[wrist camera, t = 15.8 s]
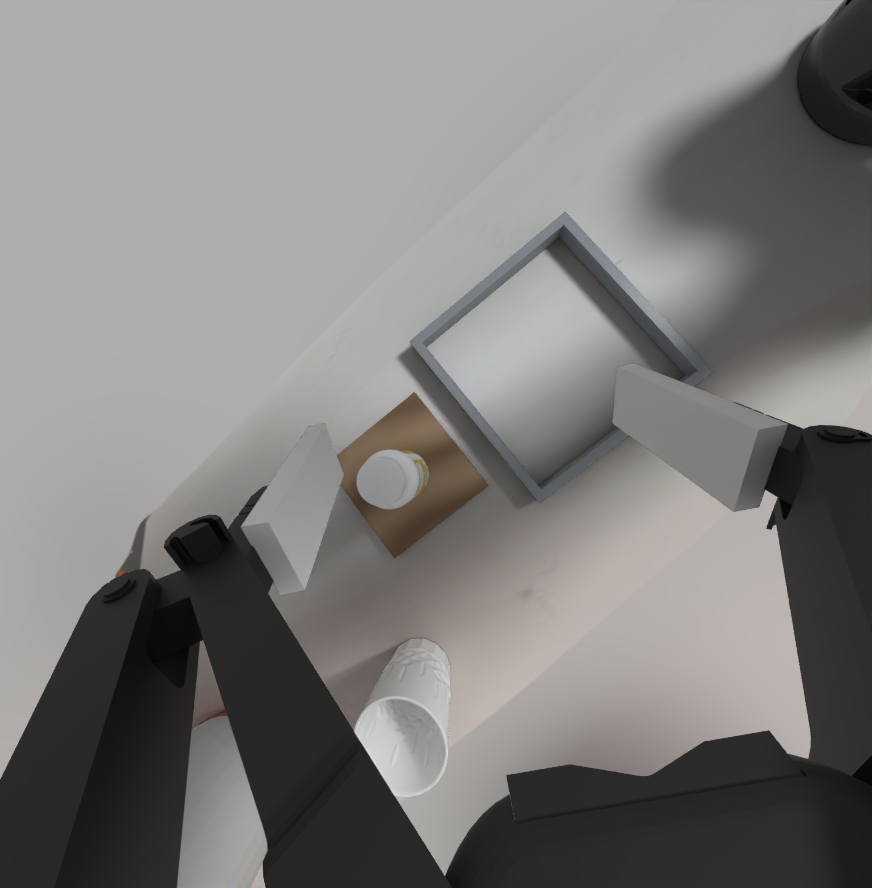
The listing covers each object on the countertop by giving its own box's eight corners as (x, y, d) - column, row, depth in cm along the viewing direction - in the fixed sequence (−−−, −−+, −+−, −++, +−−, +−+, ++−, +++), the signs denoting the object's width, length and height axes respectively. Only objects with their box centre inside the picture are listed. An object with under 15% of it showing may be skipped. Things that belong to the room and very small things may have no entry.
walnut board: (488, 484, 36) (488, 485, 35) (397, 555, 37) (394, 558, 36) (416, 394, 38) (414, 392, 37) (330, 464, 39) (325, 464, 38)
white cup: (409, 617, 37) (384, 677, 27) (469, 660, 36) (466, 737, 26) (372, 675, 37) (335, 755, 27) (431, 719, 36) (414, 819, 26)
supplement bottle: (371, 477, 37) (334, 484, 27) (403, 440, 37) (376, 434, 27) (407, 509, 36) (382, 529, 27) (439, 472, 36) (425, 479, 26)
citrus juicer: (154, 737, 40) (-159, 1010, 21) (263, 662, 39) (40, 876, 19) (219, 857, 39) (-52, 1279, 19) (335, 783, 37) (173, 1155, 18)
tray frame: (699, 376, 34) (713, 371, 32) (536, 500, 36) (539, 503, 34) (560, 224, 36) (565, 211, 34) (413, 347, 38) (409, 341, 36)
